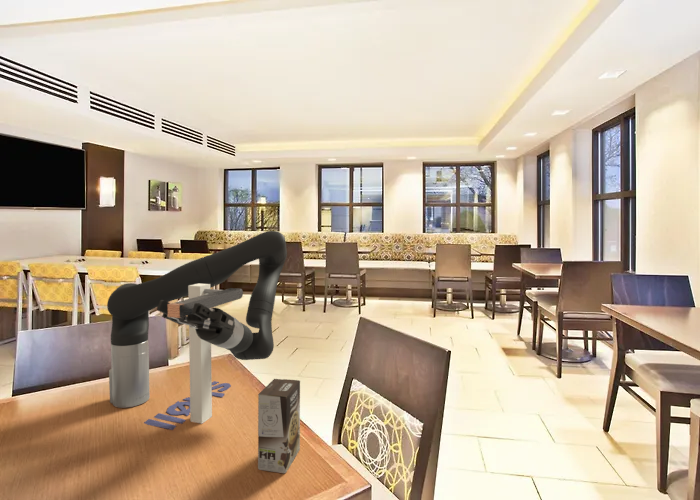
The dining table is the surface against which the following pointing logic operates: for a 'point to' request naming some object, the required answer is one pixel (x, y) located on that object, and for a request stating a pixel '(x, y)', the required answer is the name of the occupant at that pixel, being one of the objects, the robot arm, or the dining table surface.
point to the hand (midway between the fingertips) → (177, 306)
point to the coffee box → (278, 425)
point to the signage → (182, 409)
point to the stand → (200, 366)
